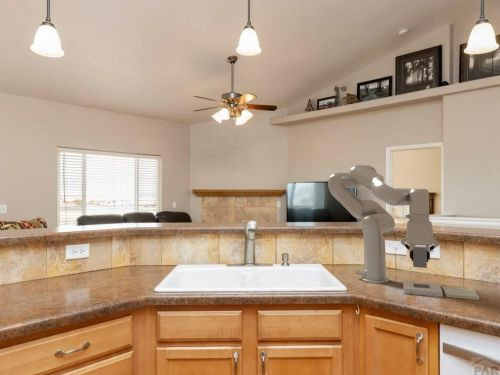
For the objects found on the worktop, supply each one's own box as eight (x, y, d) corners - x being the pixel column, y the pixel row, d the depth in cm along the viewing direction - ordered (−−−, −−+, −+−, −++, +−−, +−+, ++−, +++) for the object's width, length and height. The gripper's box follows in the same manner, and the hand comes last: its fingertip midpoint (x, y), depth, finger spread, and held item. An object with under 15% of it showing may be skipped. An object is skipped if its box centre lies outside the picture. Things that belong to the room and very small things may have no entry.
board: (446, 296, 134) (446, 294, 134) (442, 288, 145) (442, 286, 145) (479, 299, 129) (479, 297, 129) (473, 291, 140) (473, 288, 140)
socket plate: (403, 293, 139) (403, 288, 139) (403, 284, 152) (403, 280, 152) (442, 297, 133) (442, 292, 133) (438, 287, 146) (438, 283, 146)
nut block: (413, 266, 142) (413, 247, 142) (412, 264, 146) (412, 246, 146) (426, 267, 140) (426, 248, 140) (425, 265, 144) (425, 246, 144)
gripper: (397, 218, 143) (397, 261, 143) (443, 219, 136) (443, 264, 136) (397, 216, 150) (397, 257, 150) (441, 217, 143) (441, 260, 143)
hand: (419, 260), depth 143 cm, fingers closed on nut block, 5 cm apart
